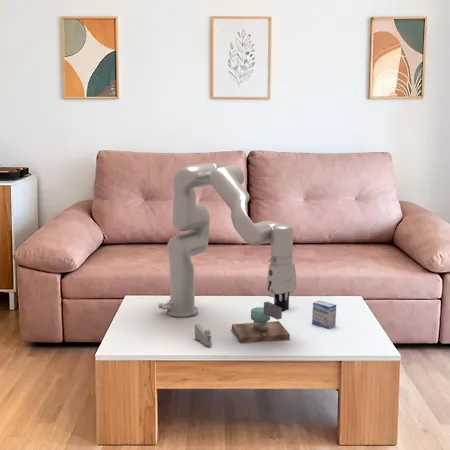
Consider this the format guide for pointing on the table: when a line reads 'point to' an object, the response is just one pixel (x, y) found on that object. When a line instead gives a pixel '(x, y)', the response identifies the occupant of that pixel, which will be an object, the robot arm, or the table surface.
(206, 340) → the grey flat irregular piece
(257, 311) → the lock handle
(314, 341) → the table surface
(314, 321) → the medicine box
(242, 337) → the base
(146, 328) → the table surface
